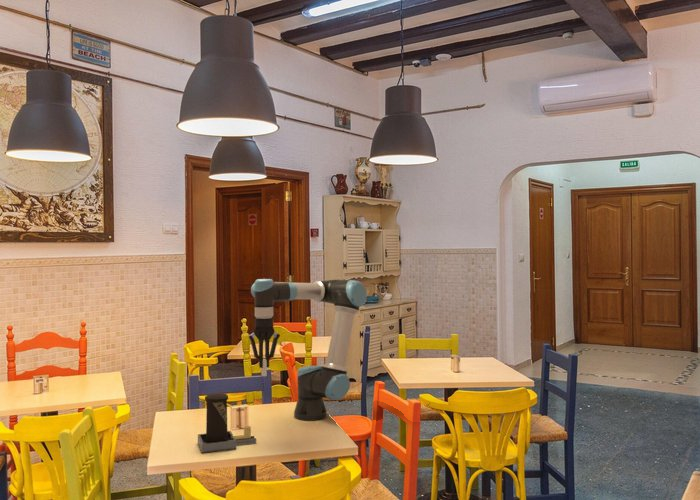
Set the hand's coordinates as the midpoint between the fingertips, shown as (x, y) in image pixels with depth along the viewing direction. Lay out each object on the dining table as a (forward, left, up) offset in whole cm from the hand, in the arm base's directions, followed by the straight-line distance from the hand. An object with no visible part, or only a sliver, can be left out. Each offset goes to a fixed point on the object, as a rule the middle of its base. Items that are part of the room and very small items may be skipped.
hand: (264, 375), depth 248 cm
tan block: (+9, 0, -25) cm, 27 cm away
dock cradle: (+19, 0, -26) cm, 33 cm away
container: (+19, 0, -26) cm, 32 cm away
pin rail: (+8, 0, -26) cm, 28 cm away
